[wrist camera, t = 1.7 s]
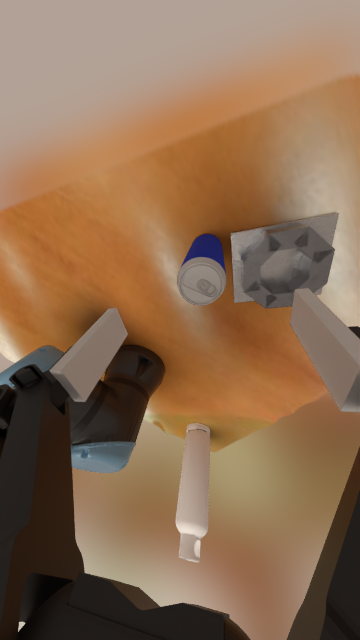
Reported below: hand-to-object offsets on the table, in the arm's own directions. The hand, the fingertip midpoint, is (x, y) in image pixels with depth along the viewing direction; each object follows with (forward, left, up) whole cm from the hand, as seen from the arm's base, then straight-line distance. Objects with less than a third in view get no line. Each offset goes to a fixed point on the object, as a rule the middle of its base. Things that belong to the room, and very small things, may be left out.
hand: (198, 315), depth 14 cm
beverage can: (0, 0, -21) cm, 21 cm away
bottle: (-10, -59, -21) cm, 63 cm away
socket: (+11, -4, -20) cm, 23 cm away
